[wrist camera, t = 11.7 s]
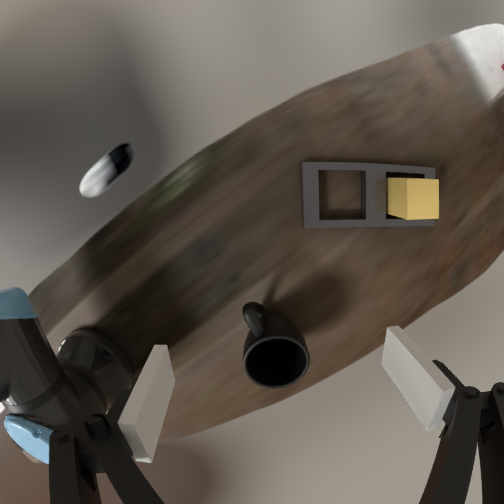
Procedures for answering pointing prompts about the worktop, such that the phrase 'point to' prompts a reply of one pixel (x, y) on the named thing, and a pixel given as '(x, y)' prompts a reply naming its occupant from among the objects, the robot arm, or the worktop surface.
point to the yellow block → (412, 198)
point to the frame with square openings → (370, 195)
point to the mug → (273, 348)
